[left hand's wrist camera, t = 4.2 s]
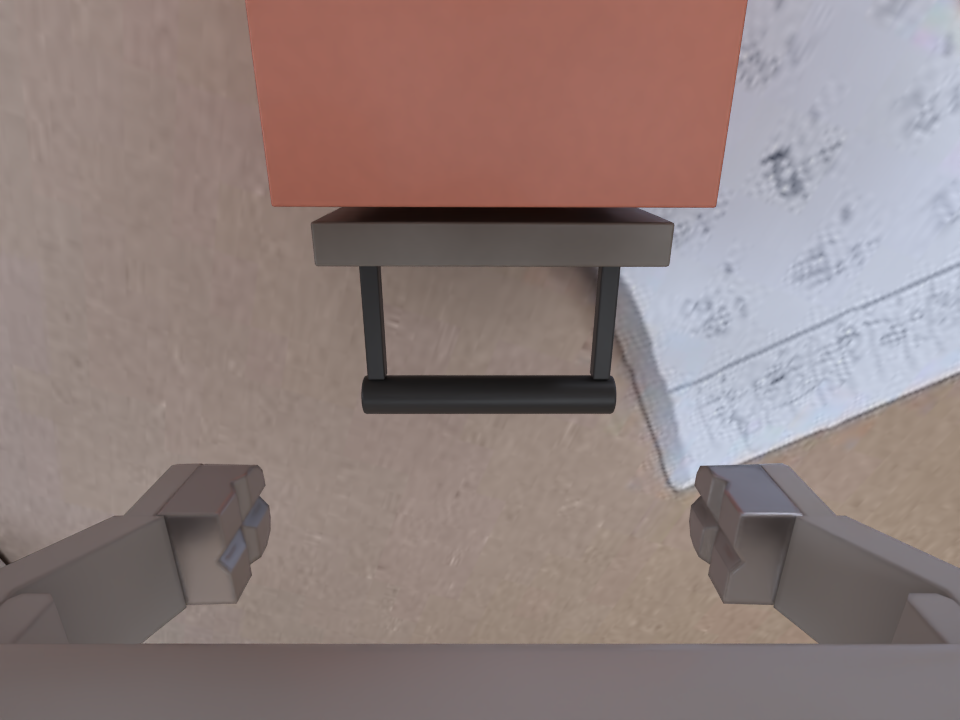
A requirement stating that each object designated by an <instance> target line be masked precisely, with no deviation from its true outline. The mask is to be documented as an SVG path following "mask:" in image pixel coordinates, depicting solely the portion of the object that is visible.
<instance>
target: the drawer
mask: <svg viewBox="0 0 960 720" xmlns="http://www.w3.org/2000/svg"><path fill="white" fill-rule="evenodd" d="M311 230H312V240H313V249H314V259H315V264H316V266H359V270H360V283H361V296H362V309H363V322H364V335H365V348H366V361H367V374H368V375H367V376H365V377H364V379H363V383H362V392H361V399H362V408H363V411H364V413H366V414H611V413H613V412H614V409H615V405H616V385H615V381H614V378H613V377H612V376H610V370H611V359H612V349H613V339H614V328H615V318H616V307H617V297H618V287H619V276H620V267H667V266H669V263H670V255H671V247H672V240H673V232H674V223H672V222H670V221H668V220H665V219H663V218H660V217H658V216H656V215H653V214H651V213H648V212H646V211H644V210H641V209H639V208H636V207H341V208H339V209H337V210H335V211H333V212H331V213H329V214H327V215H325V216H323V217H321V218H319V219H317V220H315V221H313V222H312V223H311ZM381 266H492V267H599V269H598V281H597V294H596V306H595V318H594V330H593V343H592V355H591V367H590V374H591V375H387V362H386V346H385V330H384V314H383V298H382V282H381Z"/></svg>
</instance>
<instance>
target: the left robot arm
mask: <svg viewBox="0 0 960 720" xmlns="http://www.w3.org/2000/svg"><path fill="white" fill-rule="evenodd" d="M264 487H265V480H264V476H263V471H262V469H261V468H260V467H259V466H258V465H234V464H176V465H172V466H171V467H170V468H169V469H168V470H167V471H166V472H165V473H164V474H163V475H162V476H161V477H160V478H159V479H158V480H157V481H156V482H155V484H154V485H153V486H152V487H151V488H150V489H149V490H148V491H147V492H146V493H145V494H144V495H143V496H142V497H141V498H140V499H139V500H138V501H137V502H136V503H135V504H134V505H133V506H132V507H131V509H130V510H129V511H128V512H127V513H126V514H125V515H124V516H113V517H111V518H109V519H107V520H104V521H102V522H100V523H98V524H96V525H93V526H91V527H89V528H87V529H85V530H83V531H80V532H78V533H76V534H74V535H72V536H70V537H67V538H65V539H63V540H61V541H59V542H56V543H54V544H52V545H50V546H48V547H46V548H43V549H41V550H39V551H37V552H35V553H33V554H30V555H28V556H26V557H24V558H22V559H19V560H17V561H15V562H13V563H11V564H9V565H6V564H5V563H4V562H3V561H2V560H1V559H0V720H960V568H958V567H955V566H953V565H951V564H949V563H947V562H945V561H942V560H940V559H938V558H936V557H934V556H932V555H929V554H927V553H925V552H923V551H921V550H919V549H916V548H914V547H912V546H910V545H908V544H906V543H903V542H901V541H899V540H897V539H895V538H893V537H890V536H888V535H886V534H884V533H882V532H880V531H877V530H875V529H873V528H871V527H869V526H866V525H864V524H862V523H860V522H858V521H856V520H853V519H851V518H849V517H847V516H836V515H835V514H834V513H833V512H832V511H831V509H830V508H829V507H828V506H827V505H826V504H825V503H824V502H823V501H822V500H821V499H820V498H819V497H818V496H817V495H816V494H815V493H814V492H813V491H812V490H811V489H810V488H809V487H808V485H807V484H806V483H805V482H804V481H803V480H802V479H801V478H800V477H799V476H798V475H797V474H796V473H795V472H794V471H793V470H792V469H791V468H790V467H789V466H787V465H785V464H782V463H778V464H754V465H715V466H700V468H699V470H698V472H697V474H696V480H695V487H696V489H697V490H698V492H699V494H700V495H701V496H700V497H699V498H698V499H697V500H696V501H695V502H694V503H693V504H692V505H691V510H690V518H689V525H690V536H691V539H692V543H693V546H694V548H695V550H696V552H697V554H698V556H699V557H700V558H701V559H703V560H704V561H706V562H707V563H709V564H710V567H709V573H708V576H709V577H710V579H711V581H712V583H713V585H714V587H715V589H716V590H717V592H718V594H719V596H720V598H721V600H722V602H723V603H724V604H761V605H774V608H775V609H777V610H778V611H779V612H780V613H782V614H783V615H784V616H785V617H787V618H788V619H789V620H790V621H792V622H793V623H794V624H795V625H797V626H798V627H799V628H800V629H802V630H803V631H804V632H805V633H807V634H808V635H809V636H810V637H811V638H813V639H814V640H815V641H816V642H818V643H819V644H141V643H142V642H144V641H145V640H146V639H147V638H149V637H150V636H151V635H152V634H154V633H155V632H156V631H157V630H159V629H160V628H161V627H162V626H164V625H165V624H166V623H167V622H169V621H170V620H171V619H172V618H174V617H175V616H176V615H177V614H179V613H180V612H181V611H182V610H184V609H185V608H186V605H199V604H234V603H237V602H238V600H239V598H240V596H241V594H242V592H243V591H244V589H245V587H246V585H247V583H248V581H249V579H250V577H251V576H252V573H251V567H250V564H251V563H253V562H254V561H256V560H257V559H259V558H260V557H261V556H262V554H263V552H264V550H265V548H266V546H267V543H268V539H269V534H270V529H271V516H270V510H269V505H268V504H267V503H266V502H265V501H264V500H263V499H262V498H261V497H260V496H259V495H260V494H261V492H262V490H263V489H264Z"/></svg>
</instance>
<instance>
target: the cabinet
mask: <svg viewBox="0 0 960 720" xmlns="http://www.w3.org/2000/svg"><path fill="white" fill-rule="evenodd" d="M747 1H748V0H245V3H246V11H247V18H248V26H249V34H250V41H251V49H252V57H253V65H254V72H255V80H256V88H257V95H258V103H259V111H260V118H261V126H262V134H263V142H264V149H265V157H266V165H267V172H268V180H269V188H270V196H271V203H272V206H274V207H654V208H714V207H716V203H717V197H718V190H719V184H720V177H721V171H722V164H723V158H724V151H725V145H726V138H727V132H728V125H729V119H730V112H731V106H732V99H733V93H734V86H735V80H736V73H737V66H738V60H739V53H740V47H741V40H742V34H743V27H744V21H745V14H746V8H747Z"/></svg>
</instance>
